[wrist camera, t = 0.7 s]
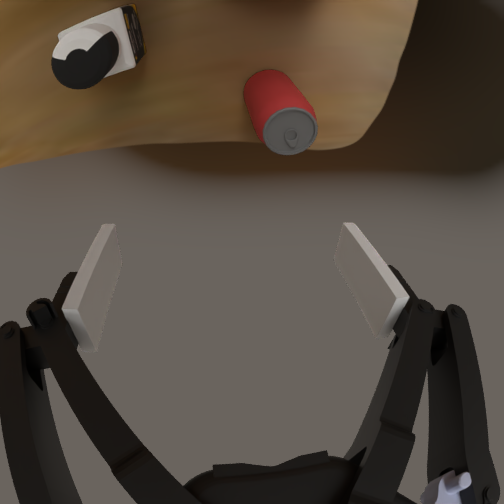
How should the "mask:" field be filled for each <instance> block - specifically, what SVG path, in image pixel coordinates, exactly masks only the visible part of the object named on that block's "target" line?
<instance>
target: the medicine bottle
mask: <svg viewBox="0 0 504 504" xmlns="http://www.w3.org/2000/svg"><path fill="white" fill-rule="evenodd" d="M58 38H59V42H58V44H57V45H56V47H55V49H54V51H53V55H52V70H53V73H54V75H55V77H56V78H57V80H58V81H59V82H60V83H61V84H63V85H64V86H66V87H68V88H72V89H86V88H89V87H92V86H94V85H95V84H97V83H98V82H100V81H101V80H102V79H103V78H105V77H107V76H110V75H113V74H116V73H119V72H122V71H125V70H128V69H131V68H134V67H135V66H136V65H137V63H138V62H139V61H140V60H141V58H142V57H143V56H144V55H145V53H146V48H145V44H144V40H143V36H142V32H141V28H140V23H139V19H138V15H137V11H136V6H135V4H130V5H126V6H122V7H119V8H116V9H113V10H110V11H108V12H105V13H102V14H100V15H97V16H95V17H92V18H90V19H88V20H85V21H83V22H81V23H79V24H76V25H74V26H72V27H70V28H68V29H66V30H64V31H62V32H60V33H59V34H58Z"/></svg>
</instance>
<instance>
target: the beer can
mask: <svg viewBox="0 0 504 504" xmlns="http://www.w3.org/2000/svg"><path fill="white" fill-rule="evenodd" d="M243 92H244V100H245V103H246V105H247V108H248V111H249V114H250V117H251V120H252V123H253V126H254V129H255V131H256V134H257V136H258V138H259V139H260V140H261V141H262V142H263V143H264V144H265V145H266V146H267V147H268V148H269V149H270V150H271V151H273V152H275V153H277V154H281V155H295V154H297V153H300V152H302V151H304V150H306V149H307V148H308V147H310V145H311V144H312V143H313V142H314V140H315V138H316V136H317V130H318V126H317V123H316V116H315V112H314V109H313V107H312V106H311V105H310V104H309V102H308V101H307V100H306V98H305V97H304V96H303V95H302V93H301V92H300V91H299V90H298V88H297V87H296V86H295V85H294V84H293V82H292V81H291V80H290V79H289V78H288V77H287V75H285V74H283V73H282V72H280V71H276V70H263V71H260V72H258V73H256V74H254V75H253V76H252V77H250V78H249V80H248V81H247V83H246V84H245V88H244V91H243Z"/></svg>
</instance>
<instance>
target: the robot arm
mask: <svg viewBox="0 0 504 504" xmlns="http://www.w3.org/2000/svg"><path fill="white" fill-rule="evenodd" d="M334 262H335V264H336V266H337V267H338V269H339V271H340V273H341V274H342V276H343V278H344V280H345V282H346V284H347V285H348V287H349V289H350V291H351V292H352V294H353V296H354V298H355V300H356V302H357V304H358V305H359V307H360V309H361V311H362V313H363V315H364V317H365V319H366V320H367V323H368V325H369V326H370V328H371V331H372V332H373V334H374V336H375V338H376V339H379V338H385V337H388V336H389V335H390V333H391V331H392V329H393V330H394V332H395V333H396V335H395V337H394V339H393V340H392V342H391V343H390V346H389V347H388V349H390V351H389V354H388V357H387V360H386V363H385V366H384V369H383V372H382V375H381V377H380V380H379V383H378V386H377V388H376V391H375V393H374V396H373V398H372V401H371V404H370V406H369V408H368V411H367V413H366V416H365V418H364V420H363V423H362V425H361V427H360V429H359V432H358V434H357V436H356V438H355V440H354V442H353V444H352V446H351V448H350V449H349V451H348V452H347V453H346V455H345V456H344V458H340V457H335V456H328V453H327V450H326V451H321V452H317V453H312V454H307V455H301V456H298V457H296V458H294V459H291V460H289V461H286V462H284V463H282V464H279V465H277V466H271V467H270V466H260V465H252V464H245V463H236V464H222V465H221V464H219V465H213V470H210V471H206V472H204V473H201V474H199V475H197V476H195V477H194V478H192V479H191V480H189V481H188V482H187V483H186V484H185V485H184V486H182V485H181V484H180V483H179V482H178V481H177V480H176V479H175V478H174V477H173V476H172V475H171V474H170V473H169V472H168V471H167V470H166V469H165V468H164V466H163V465H162V464H161V463H160V462H159V461H158V460H157V459H156V458H155V457H154V456H153V455H152V453H151V452H150V451H149V450H148V449H147V448H146V447H145V446H144V445H143V444H142V442H141V441H140V440H139V439H138V438H137V436H136V435H135V434H134V433H133V431H132V430H131V429H130V428H129V426H128V425H127V424H126V423H125V421H124V420H123V419H122V417H121V416H120V415H119V413H118V412H117V411H116V410H115V408H114V407H113V406H112V404H111V403H110V401H109V400H108V398H107V397H106V396H105V394H104V393H103V391H102V390H101V388H100V387H99V385H98V384H97V382H96V381H95V379H94V378H93V376H92V375H91V373H90V371H89V370H88V368H87V367H86V365H85V363H84V362H83V360H82V358H81V357H80V355H79V353H78V352H77V346H78V344H79V346H80V348H81V350H82V351H83V352H94V353H97V351H98V346H99V343H100V338H101V335H102V331H103V327H104V323H105V320H106V316H107V313H108V309H109V306H110V302H111V299H112V296H113V292H114V289H115V286H116V283H117V280H118V276H119V273H120V270H121V268H122V264H123V263H122V258H121V253H120V248H119V243H118V237H117V231H116V226H115V224H103V225H102V226H101V228H100V230H99V232H98V234H97V236H96V238H95V239H94V241H93V243H92V245H91V247H90V249H89V251H88V253H87V255H86V257H85V259H84V261H83V263H82V265H81V267H80V269H79V271H78V272H70V273H69V274H67V275H66V277H64V279H63V280H62V282H61V284H60V287H59V289H58V290H57V293H56V295H55V297H54V299H53V301H52V302H51V301H50V300H49V299H47V298H40V299H37V300H35V301H34V302H32V303H31V304H30V305H29V307H28V308H27V311H26V315H27V318H28V320H29V321H30V323H31V325H32V326H29V327H24V328H20V326H19V324H17V322H14V321H9V322H6V323H5V324H3V325H2V326H1V327H0V418H1V425H2V432H3V438H4V443H5V449H6V454H7V459H8V463H9V467H10V471H11V475H12V479H13V483H14V486H15V490H16V493H17V496H18V500H19V503H20V504H82V501H81V499H80V497H79V494H78V492H77V489H76V487H75V485H74V482H73V479H72V477H71V474H70V471H69V468H68V466H67V463H66V460H65V457H64V454H63V450H62V447H61V444H60V441H59V437H58V434H57V430H56V426H55V422H54V419H53V414H52V410H51V406H50V401H49V397H48V392H47V386H46V381H45V375H44V369H46V368H51V370H52V372H53V374H54V376H55V378H56V380H57V382H58V384H59V386H60V388H61V390H62V392H63V394H64V396H65V397H66V399H67V401H68V403H69V405H70V407H71V408H72V410H73V412H74V413H75V415H76V417H77V418H78V420H79V422H80V423H81V425H82V426H83V428H84V430H85V431H86V433H87V435H88V436H89V438H90V439H91V441H92V442H93V444H94V445H95V447H96V448H97V449H98V451H99V452H100V454H101V455H102V457H103V458H104V459H105V461H106V462H107V463H108V465H109V466H110V468H111V471H112V473H113V475H114V476H115V477H116V479H117V480H118V481H119V483H120V484H121V485H122V486H123V488H124V489H125V490H126V491H127V492H128V494H129V495H130V496H131V497H132V498H133V499H134V501H135V502H136V503H137V504H417V503H415V502H413V501H411V500H410V499H408V498H407V497H405V496H403V495H402V494H400V493H398V492H397V490H398V487H399V485H400V482H401V480H402V477H403V475H404V472H405V469H406V466H407V463H408V460H409V458H410V455H411V452H412V449H413V445H414V442H415V434H413V433H412V428H413V425H414V421H415V418H416V414H417V410H418V407H419V403H420V399H421V395H422V390H423V385H424V381H425V377H426V372H428V392H429V442H428V461H427V478H428V485H427V487H426V488H425V491H424V492H423V493H422V495H421V498H420V500H421V502H422V503H423V504H497V502H498V500H499V496H500V487H499V483H498V479H497V475H496V471H495V468H494V464H493V461H492V458H491V455H490V451H489V442H488V429H487V418H486V408H485V400H484V393H483V387H482V381H481V375H480V370H479V365H478V360H477V355H476V351H475V346H474V342H473V338H472V334H471V330H470V326H469V322H468V319H467V315H466V313H465V311H464V310H463V309H462V308H461V307H459V306H457V305H454V304H450V305H448V307H447V308H446V310H445V311H440V310H435V309H434V307H433V306H432V305H431V304H430V303H429V302H427V301H426V300H422V299H418V298H417V296H416V295H415V293H414V292H413V291H412V289H411V288H410V286H409V285H408V284H407V283H406V281H405V279H404V278H403V277H402V276H401V274H400V273H399V271H398V270H396V269H395V268H394V267H393V266H391V265H386V263H385V262H384V261H383V259H382V258H381V256H380V255H379V254H378V253H377V251H376V250H375V249H374V247H373V246H372V245H371V244H370V242H369V241H368V240H367V238H366V237H365V236H364V234H363V233H362V232H361V231H360V229H359V228H358V227H357V226H356V224H355V223H343V226H342V230H341V233H340V237H339V241H338V245H337V249H336V252H335V256H334Z"/></svg>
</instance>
